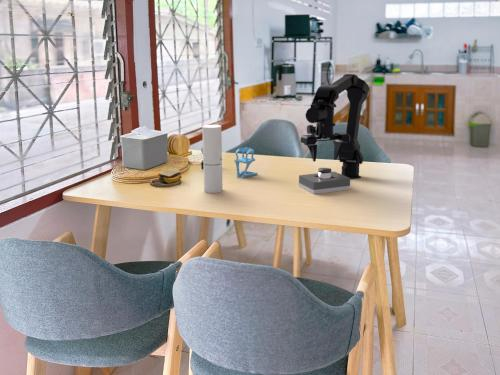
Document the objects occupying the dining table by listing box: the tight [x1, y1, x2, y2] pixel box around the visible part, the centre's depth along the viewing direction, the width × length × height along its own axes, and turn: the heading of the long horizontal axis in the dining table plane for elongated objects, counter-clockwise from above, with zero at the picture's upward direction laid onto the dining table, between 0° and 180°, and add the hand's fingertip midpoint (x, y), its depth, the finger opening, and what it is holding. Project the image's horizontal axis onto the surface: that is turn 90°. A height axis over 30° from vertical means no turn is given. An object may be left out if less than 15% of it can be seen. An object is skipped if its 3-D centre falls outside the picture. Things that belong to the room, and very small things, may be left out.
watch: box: [200, 146, 204, 170], centre depth 247 cm, size 6×8×11 cm
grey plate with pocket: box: [298, 171, 351, 195], centre depth 214 cm, size 16×12×4 cm
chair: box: [234, 146, 258, 179], centre depth 233 cm, size 8×8×12 cm
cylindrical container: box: [201, 124, 223, 194], centre depth 209 cm, size 7×7×25 cm
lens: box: [317, 167, 332, 179], centre depth 213 cm, size 5×5×6 cm
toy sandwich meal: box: [149, 168, 182, 188], centre depth 223 cm, size 12×14×5 cm
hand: (324, 160), depth 212 cm, fingers open, 9 cm apart
